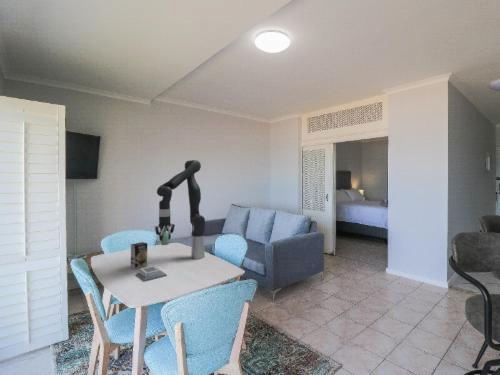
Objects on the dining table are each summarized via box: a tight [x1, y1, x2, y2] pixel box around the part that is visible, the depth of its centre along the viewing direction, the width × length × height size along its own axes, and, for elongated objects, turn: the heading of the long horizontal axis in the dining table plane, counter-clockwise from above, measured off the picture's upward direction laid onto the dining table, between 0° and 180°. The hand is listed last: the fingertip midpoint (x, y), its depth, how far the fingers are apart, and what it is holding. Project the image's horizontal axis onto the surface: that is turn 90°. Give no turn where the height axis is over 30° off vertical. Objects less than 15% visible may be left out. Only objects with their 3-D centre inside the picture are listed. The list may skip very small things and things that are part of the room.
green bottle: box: [160, 228, 170, 246], centre depth 183 cm, size 5×5×12 cm
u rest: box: [135, 265, 168, 282], centre depth 168 cm, size 14×14×4 cm
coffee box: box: [130, 241, 148, 270], centre depth 183 cm, size 9×6×16 cm
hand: (165, 239), depth 183 cm, fingers closed on green bottle, 4 cm apart
